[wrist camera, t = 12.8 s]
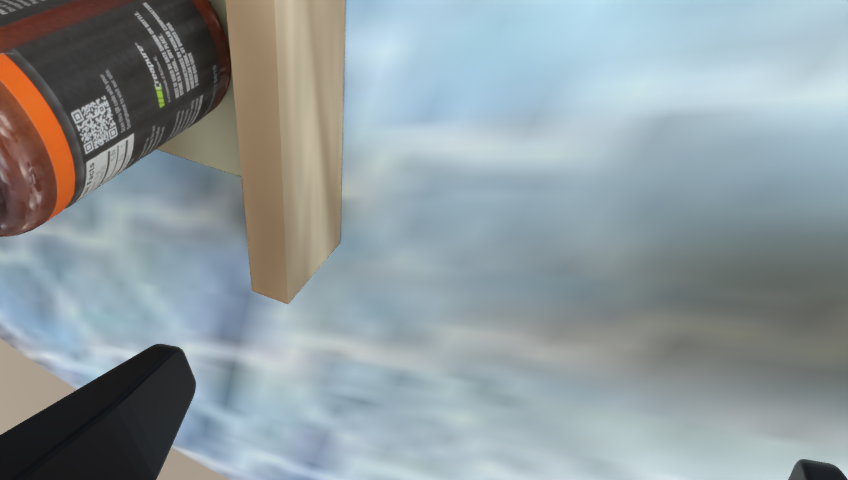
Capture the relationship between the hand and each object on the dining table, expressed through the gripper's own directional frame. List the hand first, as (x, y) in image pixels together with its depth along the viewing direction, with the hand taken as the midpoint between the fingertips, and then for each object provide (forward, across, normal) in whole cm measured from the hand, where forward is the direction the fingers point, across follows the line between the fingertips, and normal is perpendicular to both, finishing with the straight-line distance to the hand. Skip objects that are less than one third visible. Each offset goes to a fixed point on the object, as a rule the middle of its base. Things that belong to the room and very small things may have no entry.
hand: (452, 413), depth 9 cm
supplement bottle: (+14, +14, 0) cm, 19 cm away
